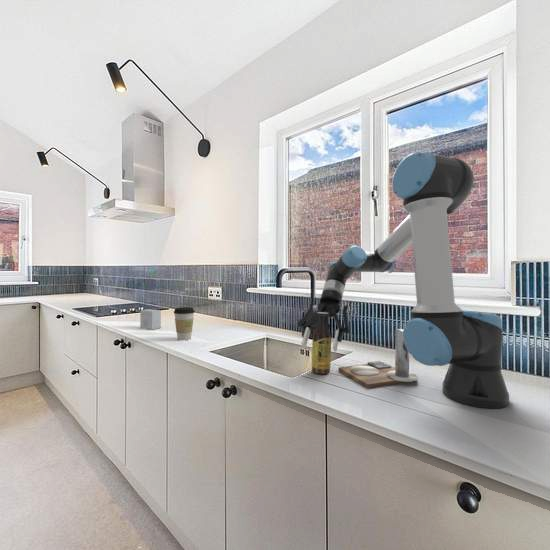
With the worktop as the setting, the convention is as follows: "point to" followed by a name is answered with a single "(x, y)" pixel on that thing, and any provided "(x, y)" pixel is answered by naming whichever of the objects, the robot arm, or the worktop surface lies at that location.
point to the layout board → (375, 374)
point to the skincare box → (150, 319)
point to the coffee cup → (184, 322)
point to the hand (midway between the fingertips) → (318, 347)
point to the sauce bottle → (321, 345)
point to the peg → (401, 356)
